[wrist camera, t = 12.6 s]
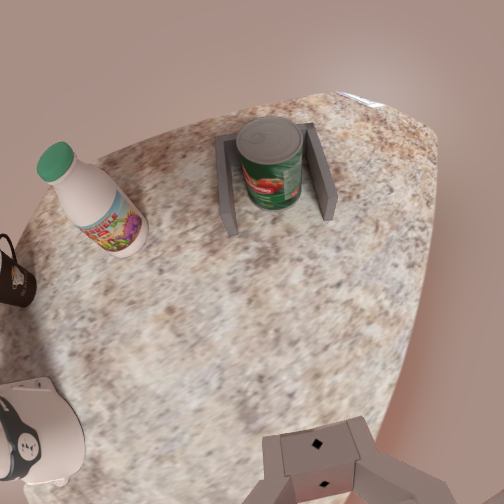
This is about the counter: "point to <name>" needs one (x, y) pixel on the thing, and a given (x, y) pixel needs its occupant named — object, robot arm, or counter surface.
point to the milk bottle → (93, 201)
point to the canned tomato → (271, 162)
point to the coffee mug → (15, 280)
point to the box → (230, 157)
